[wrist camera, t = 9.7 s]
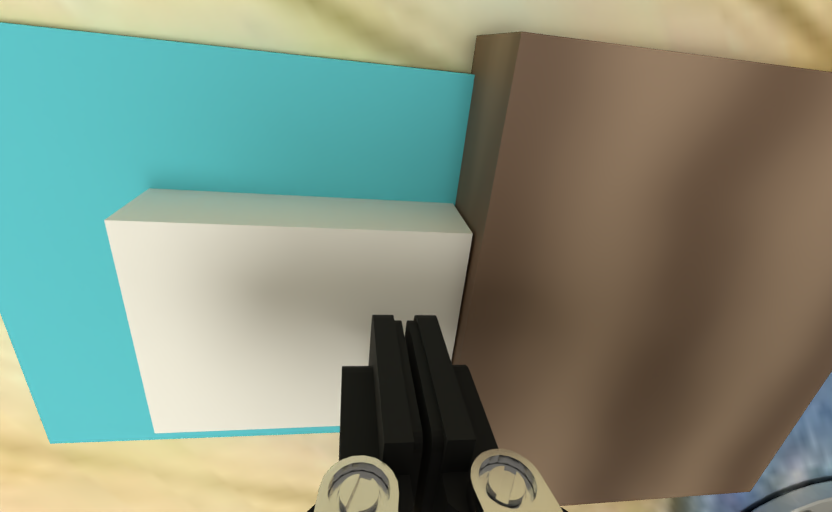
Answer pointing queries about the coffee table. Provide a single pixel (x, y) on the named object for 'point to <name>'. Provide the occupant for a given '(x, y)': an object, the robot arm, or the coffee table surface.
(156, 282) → the white block
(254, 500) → the coffee table surface
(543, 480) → the robot arm
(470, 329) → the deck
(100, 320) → the mat
